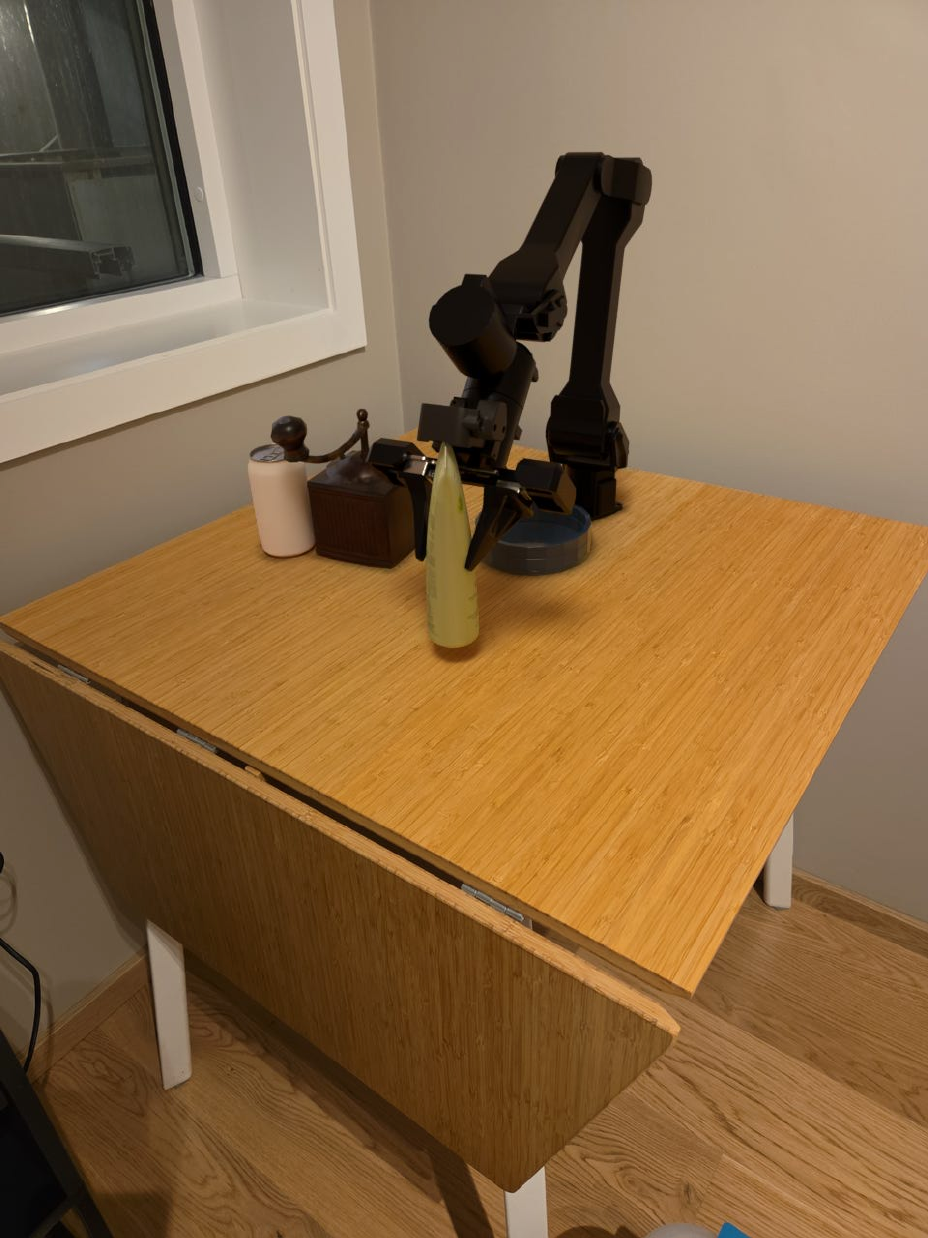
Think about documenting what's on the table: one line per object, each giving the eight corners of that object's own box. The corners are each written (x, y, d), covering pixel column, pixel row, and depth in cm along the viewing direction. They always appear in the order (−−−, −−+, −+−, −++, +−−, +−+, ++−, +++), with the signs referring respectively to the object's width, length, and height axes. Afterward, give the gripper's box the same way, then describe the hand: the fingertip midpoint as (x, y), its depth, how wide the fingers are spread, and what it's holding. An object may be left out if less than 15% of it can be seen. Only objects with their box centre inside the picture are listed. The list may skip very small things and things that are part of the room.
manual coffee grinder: (354, 518, 114) (338, 377, 104) (433, 531, 110) (423, 385, 100) (285, 574, 102) (259, 421, 93) (370, 591, 98) (352, 433, 88)
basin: (454, 544, 107) (452, 517, 105) (540, 513, 113) (540, 487, 111) (523, 587, 97) (523, 558, 95) (614, 550, 103) (615, 523, 102)
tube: (495, 636, 85) (491, 445, 74) (455, 660, 83) (444, 466, 71) (455, 611, 89) (445, 426, 77) (415, 633, 86) (399, 445, 75)
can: (326, 539, 109) (314, 444, 103) (296, 562, 104) (281, 465, 98) (282, 531, 112) (267, 438, 105) (251, 554, 107) (233, 458, 100)
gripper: (364, 349, 78) (309, 517, 76) (565, 369, 71) (511, 555, 69) (416, 408, 89) (368, 557, 86) (597, 430, 81) (550, 594, 79)
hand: (442, 565), depth 80 cm, fingers closed on tube, 4 cm apart
